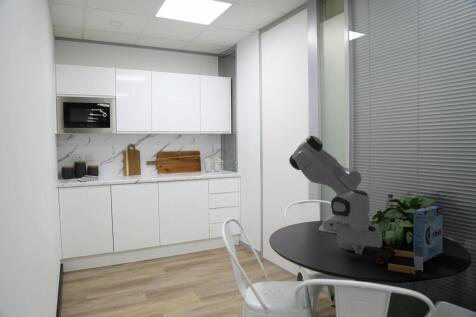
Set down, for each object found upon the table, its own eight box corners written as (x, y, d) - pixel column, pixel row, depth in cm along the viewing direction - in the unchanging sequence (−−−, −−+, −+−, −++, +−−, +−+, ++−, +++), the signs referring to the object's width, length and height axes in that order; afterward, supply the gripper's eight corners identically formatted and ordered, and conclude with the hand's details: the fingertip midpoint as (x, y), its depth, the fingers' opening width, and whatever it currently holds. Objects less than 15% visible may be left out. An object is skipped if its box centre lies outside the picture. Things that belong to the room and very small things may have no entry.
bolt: (377, 269, 143) (387, 259, 155) (388, 266, 140) (397, 256, 152) (370, 257, 145) (380, 247, 156) (381, 253, 142) (390, 244, 153)
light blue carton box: (423, 262, 147) (424, 212, 146) (412, 259, 151) (413, 210, 150) (442, 253, 158) (443, 207, 157) (431, 251, 162) (432, 205, 161)
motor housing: (388, 270, 138) (388, 254, 137) (390, 254, 157) (390, 240, 157) (423, 275, 132) (423, 259, 132) (421, 258, 151) (421, 244, 151)
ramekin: (366, 252, 161) (366, 238, 161) (338, 250, 164) (338, 237, 163) (361, 244, 174) (361, 231, 174) (335, 242, 176) (336, 230, 176)
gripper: (335, 223, 155) (334, 252, 155) (381, 228, 145) (381, 259, 146) (337, 221, 160) (337, 248, 161) (382, 225, 151) (382, 255, 152)
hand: (358, 253), depth 153 cm, fingers closed
